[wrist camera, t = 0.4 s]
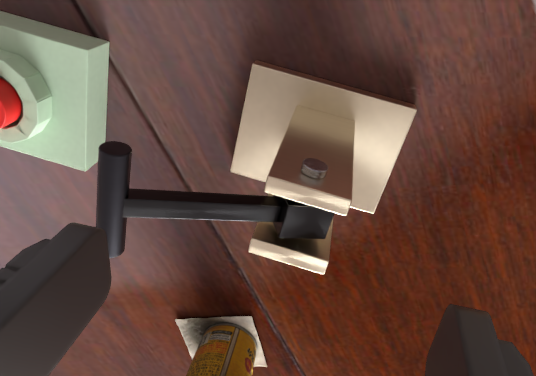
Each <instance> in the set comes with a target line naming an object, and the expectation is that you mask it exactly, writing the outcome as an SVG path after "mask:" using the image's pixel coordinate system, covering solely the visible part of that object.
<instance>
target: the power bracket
mask: <svg viewBox="0 0 536 376" xmlns="http://www.w3.org/2000/svg"><path fill="white" fill-rule="evenodd" d="M416 112H417V108H416V105H415V104H411V103H408V102H404V101H401V100H397V99H394V98H390V97H386V96H383V95H379V94H376V93H372V92H368V91H365V90H361V89H358V88H354V87H351V86H347V85H343V84H340V83H336V82H333V81H329V80H326V79H322V78H318V77H315V76H311V75H308V74H304V73H300V72H297V71H293V70H290V69H286V68H283V67H279V66H275V65H272V64H268V63H265V62H261V61H258V60H256V61H255V62H254V63H253V64H252V68H251V73H250V78H249V83H248V88H247V92H246V97H245V102H244V107H243V112H242V116H241V121H240V126H239V131H238V136H237V141H236V145H235V150H234V155H233V160H232V165H231V170H230V172H232V173H236V174H239V175H243V176H246V177H249V178H253V179H256V180H260V181H263V182H266V184H265V188H264V192H266V193H268V196H273V195H276V196H279V197H283V198H286V199H290V200H293V201H296V202H300V203H303V204H306V205H310V206H313V207H317V208H320V209H323V210H327V211H330V212H334V213H337V214H340V215H344V216H346V215H347V213H348V211H349V208H350V207H352V208H355V209H359V210H362V211H365V212H369V213H372V214H374V212H375V210H376V207H377V205H378V202H379V200H380V198H381V195H382V193H383V190H384V188H385V186H386V183H387V181H388V179H389V176H390V174H391V171H392V169H393V167H394V164H395V162H396V160H397V157H398V155H399V152H400V150H401V148H402V145H403V143H404V141H405V138H406V136H407V133H408V131H409V129H410V126H411V124H412V122H413V119H414V117H415V114H416ZM333 218H334V216H333ZM332 228H333V219H332V222H331V224H330V227H329V230H328V233H327V235H326V238H325V239H292V238H279V237H278V234H277V232H276V229H275V227H274V224H273V222H257V225H256V228H255V230H254V233H253V235H252V238H251V242H250V246H249V250H248V252H250V253H254V254H257V255H260V256H264V257H267V258H270V259H273V260H277V261H280V262H283V263H287V264H290V265H293V266H297V267H300V268H303V269H307V270H310V271H313V272H317V273H320V274H324V273H325V271H326V268H327V266H328V263H329V257H330V247H331V237H332Z"/></svg>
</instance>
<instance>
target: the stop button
mask: <svg viewBox="0 0 536 376" xmlns="http://www.w3.org/2000/svg"><path fill="white" fill-rule="evenodd" d="M21 110H22V106H21V100H20V98H19V96H18V94H17V92H16V90H15V89H14V88H13V87H12V86H11V85H10V84H9V83H8V82H7V81H5V80H4V79H2V78H0V129H1V128H3V127H5V126H7V125H9V124H11V123H13V122H14V121H16V120H17V119H18V118H19V116H20V114H21Z"/></svg>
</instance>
